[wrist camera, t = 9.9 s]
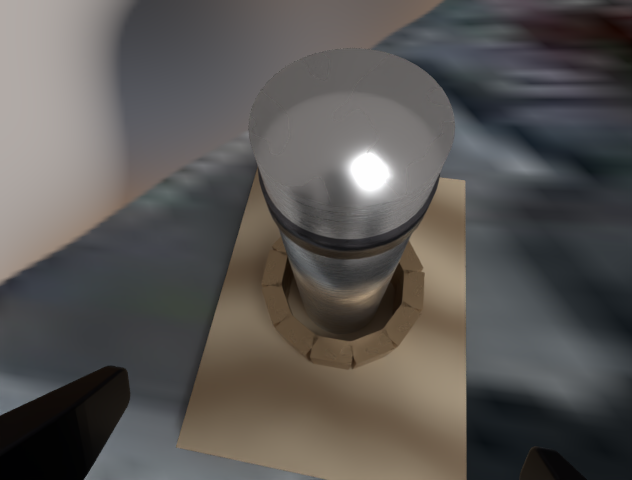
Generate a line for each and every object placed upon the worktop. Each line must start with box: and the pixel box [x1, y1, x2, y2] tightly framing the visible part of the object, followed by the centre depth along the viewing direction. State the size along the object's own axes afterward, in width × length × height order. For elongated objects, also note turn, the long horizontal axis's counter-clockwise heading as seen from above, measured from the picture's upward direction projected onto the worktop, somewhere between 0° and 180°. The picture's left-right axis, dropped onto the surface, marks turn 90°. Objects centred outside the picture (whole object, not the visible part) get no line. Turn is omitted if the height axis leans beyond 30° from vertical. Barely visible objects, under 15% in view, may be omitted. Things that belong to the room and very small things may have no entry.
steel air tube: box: [249, 48, 455, 334], centre depth 14 cm, size 5×5×14 cm
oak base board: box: [176, 168, 466, 480], centre depth 21 cm, size 18×14×2 cm
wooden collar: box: [261, 237, 425, 370], centre depth 19 cm, size 8×8×3 cm
